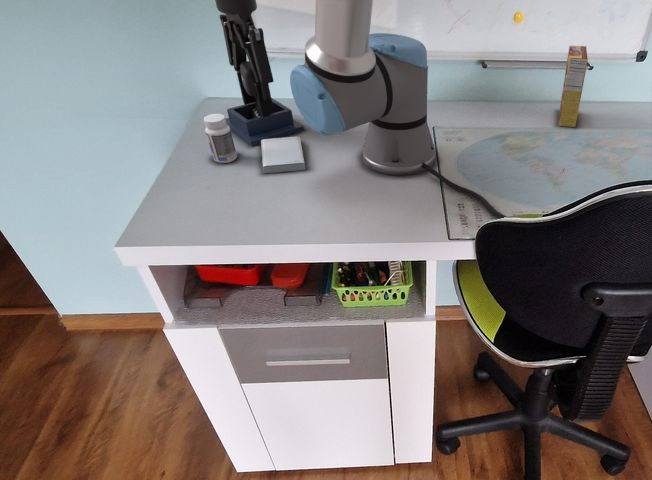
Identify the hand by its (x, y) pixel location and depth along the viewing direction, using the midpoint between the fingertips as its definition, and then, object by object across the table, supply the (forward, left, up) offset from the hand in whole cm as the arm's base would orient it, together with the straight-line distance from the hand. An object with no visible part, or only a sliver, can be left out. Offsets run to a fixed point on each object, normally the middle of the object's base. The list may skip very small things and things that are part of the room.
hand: (258, 108), depth 119 cm
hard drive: (-16, +4, -4) cm, 17 cm away
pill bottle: (-9, +13, -4) cm, 16 cm away
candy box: (-40, -60, -4) cm, 72 cm away
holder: (0, 0, -4) cm, 4 cm away
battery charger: (0, 0, -2) cm, 3 cm away
